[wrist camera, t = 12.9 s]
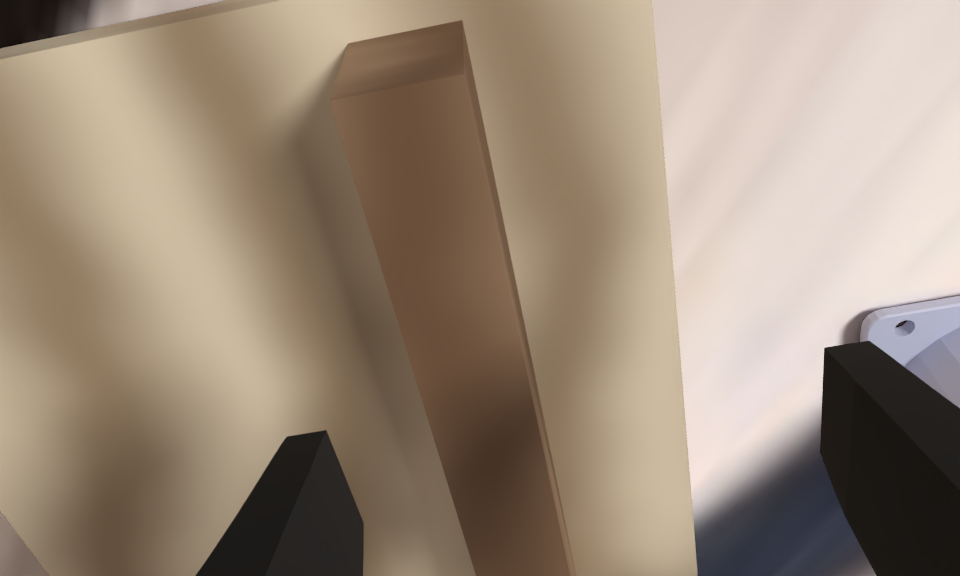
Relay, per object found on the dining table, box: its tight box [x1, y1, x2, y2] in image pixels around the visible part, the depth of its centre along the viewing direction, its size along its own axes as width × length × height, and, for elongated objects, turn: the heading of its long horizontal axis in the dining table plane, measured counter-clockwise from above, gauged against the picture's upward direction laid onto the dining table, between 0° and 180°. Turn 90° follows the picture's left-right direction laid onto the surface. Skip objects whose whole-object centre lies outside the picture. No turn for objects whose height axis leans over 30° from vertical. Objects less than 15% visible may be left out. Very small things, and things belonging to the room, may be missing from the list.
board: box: [0, 0, 698, 576], centre depth 26 cm, size 20×32×1 cm, turn 11°
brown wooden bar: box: [330, 20, 576, 576], centre depth 21 cm, size 2×18×3 cm, turn 11°
